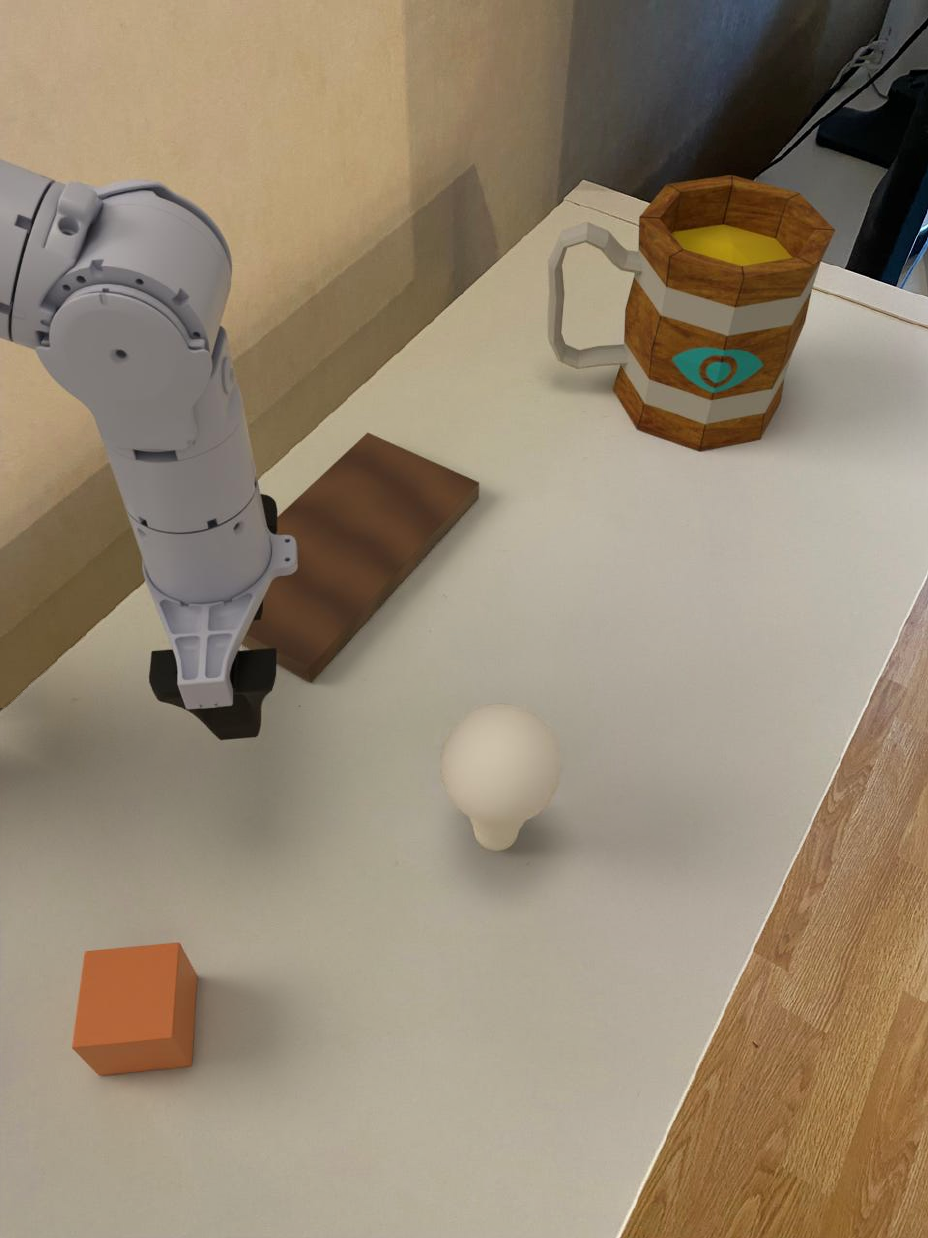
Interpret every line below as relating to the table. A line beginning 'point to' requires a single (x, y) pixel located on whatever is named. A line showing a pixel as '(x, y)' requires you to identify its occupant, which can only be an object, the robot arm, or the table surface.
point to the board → (354, 548)
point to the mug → (704, 307)
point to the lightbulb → (500, 770)
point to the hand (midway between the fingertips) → (240, 672)
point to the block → (136, 1009)
